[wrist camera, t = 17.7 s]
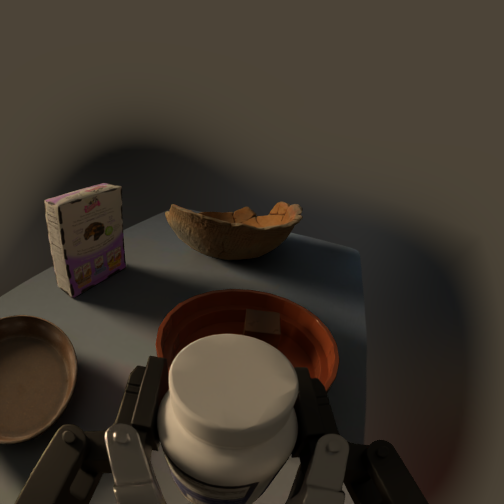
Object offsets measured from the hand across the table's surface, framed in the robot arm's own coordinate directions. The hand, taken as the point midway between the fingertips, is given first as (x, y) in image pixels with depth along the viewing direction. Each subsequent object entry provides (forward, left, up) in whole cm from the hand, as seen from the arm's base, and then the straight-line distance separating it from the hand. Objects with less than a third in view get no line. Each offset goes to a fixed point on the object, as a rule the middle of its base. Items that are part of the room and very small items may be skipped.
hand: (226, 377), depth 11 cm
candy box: (+37, -19, -18) cm, 45 cm away
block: (+4, -20, -17) cm, 27 cm away
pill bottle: (-1, +2, -7) cm, 7 cm away
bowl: (+4, -16, -18) cm, 24 cm away
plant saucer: (+26, +6, -18) cm, 32 cm away
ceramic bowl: (+21, -46, -18) cm, 54 cm away
